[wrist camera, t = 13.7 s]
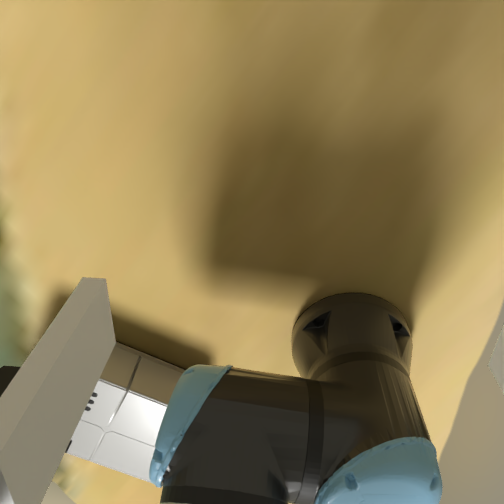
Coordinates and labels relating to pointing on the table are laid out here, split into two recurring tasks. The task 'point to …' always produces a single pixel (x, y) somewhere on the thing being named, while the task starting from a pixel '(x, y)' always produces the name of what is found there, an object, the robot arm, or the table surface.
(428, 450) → the robot arm
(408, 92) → the table surface
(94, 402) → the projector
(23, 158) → the table surface
